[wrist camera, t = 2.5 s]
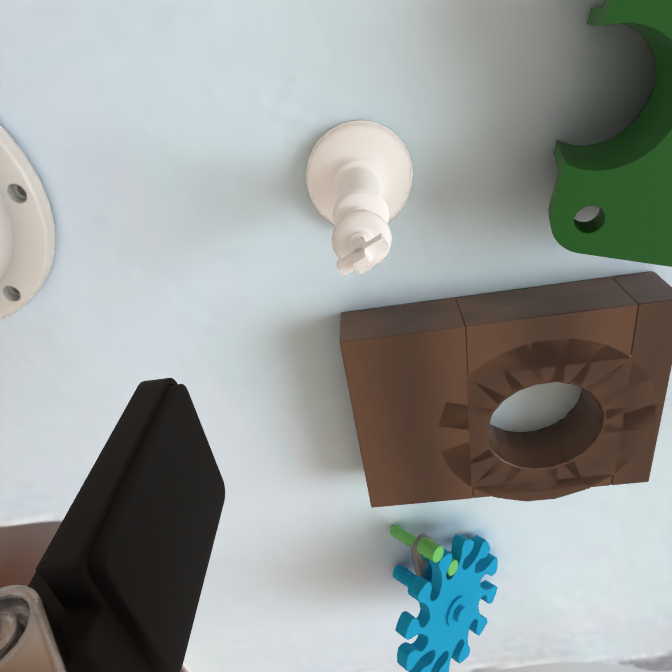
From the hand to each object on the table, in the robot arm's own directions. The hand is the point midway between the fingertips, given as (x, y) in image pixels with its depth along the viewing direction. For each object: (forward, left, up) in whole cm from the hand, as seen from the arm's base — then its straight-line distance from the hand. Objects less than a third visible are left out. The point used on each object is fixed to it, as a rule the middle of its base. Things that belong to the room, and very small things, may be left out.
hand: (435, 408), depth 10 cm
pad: (+5, -13, -17) cm, 22 cm away
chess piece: (-1, 0, -17) cm, 17 cm away
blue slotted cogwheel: (+1, -28, -17) cm, 33 cm away
